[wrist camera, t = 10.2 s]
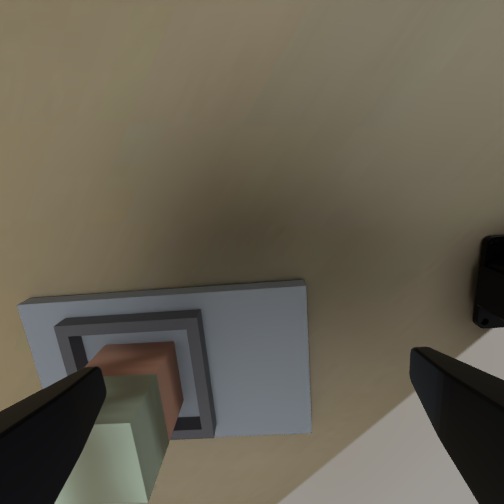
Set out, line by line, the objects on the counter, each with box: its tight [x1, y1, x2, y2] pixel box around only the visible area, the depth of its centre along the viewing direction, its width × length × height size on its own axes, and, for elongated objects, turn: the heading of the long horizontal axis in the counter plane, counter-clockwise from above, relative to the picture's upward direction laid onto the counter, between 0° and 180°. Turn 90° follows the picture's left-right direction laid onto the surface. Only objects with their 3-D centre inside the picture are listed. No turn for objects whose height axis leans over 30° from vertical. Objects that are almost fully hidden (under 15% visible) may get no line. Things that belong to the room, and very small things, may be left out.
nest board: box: [17, 280, 312, 440], centre depth 21 cm, size 20×12×2 cm, turn 95°
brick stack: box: [55, 341, 184, 504], centre depth 18 cm, size 5×5×7 cm
